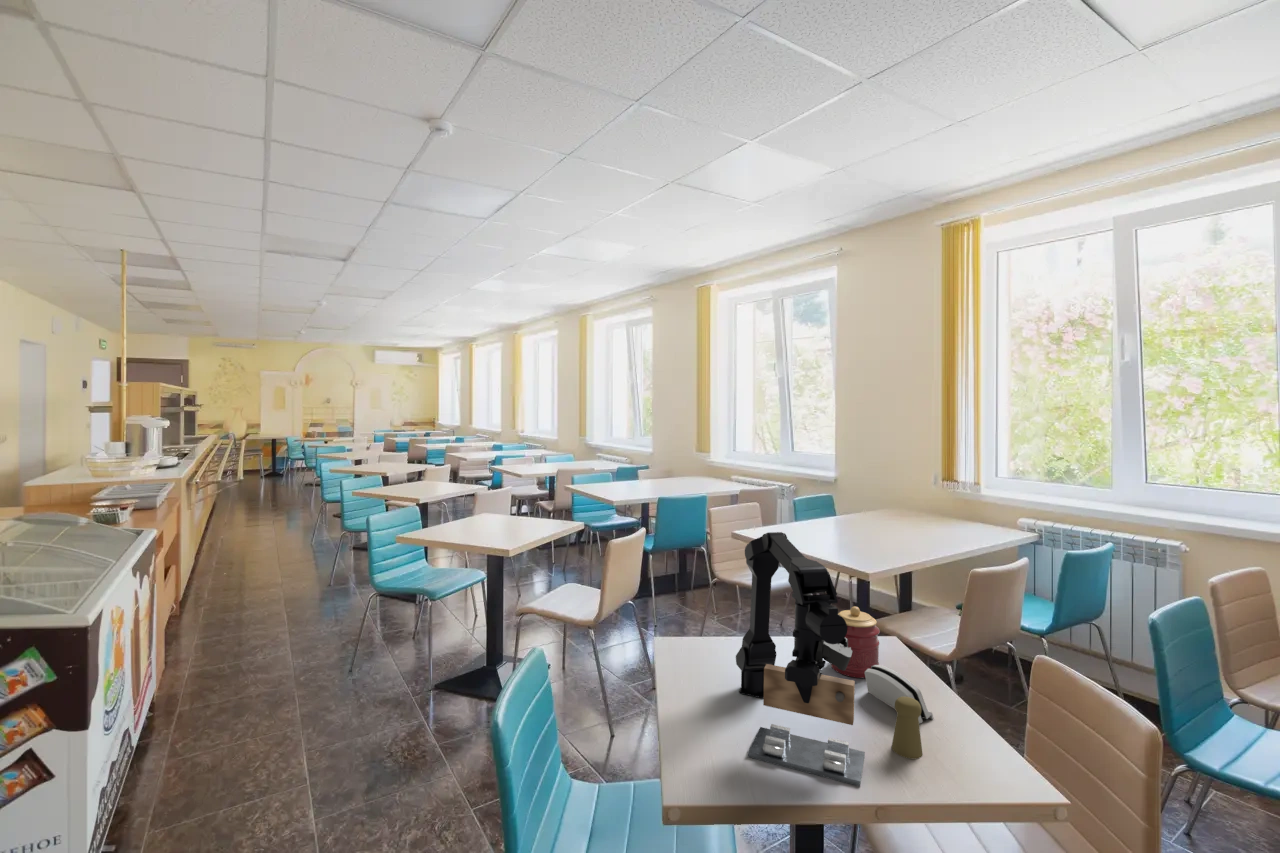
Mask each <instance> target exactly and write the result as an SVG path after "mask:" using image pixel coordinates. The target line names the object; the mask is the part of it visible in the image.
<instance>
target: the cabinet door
mask: <svg viewBox="0 0 1280 853" xmlns="http://www.w3.org/2000/svg"><path fill="white" fill-rule="evenodd" d="M786 667H787V666H786ZM786 667H784V666H780V665H770V664H766V666H765V667H764V698H762V699H763V700H762V702H763V703H762V704H763V706H765V707H769V708H773V709H779V710H782V711H786V712H792V713H796V714H800V715H804V716H805V715H806V716H809V717H810V716H811V717H815V718H818V719H823V720H828V721H832V722H836V723H841V724H846V725H849V726H853V725H854V721H855V690H856V689H855V687H856V684H855V683H856V682H855V680H852V679H847V678H842V677H836V676H832V675H826V674H821V677H820V679H819V682H818V684H817V685H816V686H813V687H812V692H811V697H810V701H809V703H804V702H803V700H802V697H801V695H800V693H799V690H798V688H797V686H796V684H795V682H791V681H787V680H786V679H785V669H786Z"/></svg>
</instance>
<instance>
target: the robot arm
mask: <svg viewBox="0 0 1280 853" xmlns="http://www.w3.org/2000/svg"><path fill="white" fill-rule="evenodd" d="M744 556H745V562H746V565H747V567H748V569H749V571H750V573H751V592H750V612H749V613H750V615H749V629H748V630H747V631H746V633H745V634H744V636H743V637H742V641H741V642H742V643H741V647H740V648H739V649H738V652H737V653H736V655H735V664H736V666H737V667H738V668H739V669H740V673H741V674H740V676H741V677H740V678H741V679H740V682H741V683H740V689H739V690H738V693H739V694H741V695H747V696H751V697H755V698H761V699H764V667H765V666H766V664H770V665H775V664H776V659H777V651H776V647H777V645H776V644H775V641H773V639H772V636H771V634H770V633H769V632H770V615H771V614H770V613H771V612H770V611H771V595H772V594H771V593H772V578H773V576H774V575H775V574H776V572H777V571H778V570H779V568H780V565H781V566H782V567H783V568H784V569H785V570H786V572H787V574H788V580H787V582H788V583H789V585H790V588H791V590H792V592H793V593H792V594H791V597H792V598H793V599H794V629H793V630H792V637H793V639H794V640H793V642H794V644H793V646H794V648H793V650H792V652H791V653H792V654H791V655H792V657H794V658H795V659H792V660H791V661H789V662H788V663H787V665H786V669H785V679H786V680H787V681H791V682H795V684H796V686H797V688H798V690H799V693H800V695H801V697H802V700H803V702H804V703H809V701H810V697H811V692H812V687H813V686H816V685H817V684H818V682H819V679H820V677H821V674H822V673H821V670H822V669H823V668H824V667H825V665H826V663H829V664H830V665H831V664H833V665H835V666H836V667H838V669H840V670H843V671H845V670H846V668H847V665H848V663H849V661H850V658H851V656H852V650H851V647H849V648H848V639H847V638H845V636H846V634H847V624H846V622H845V620H844V619H843V618H842V617H841V616H840V615H838V613H839V609H838V608H837V606H833V605H832V604H838V602H839V601H838V598H837V595H838V592H837V589H836V588H835V585H834V583H833V580H832V578H831V574H830V572H829V570H828V569H827V567H825V565H823V564H822V563H820V562H819V561H817V560H814V559H810V558H807V557H806V556H805V555H803V554H802V553H801V551H799V549H797V547H796V546H795V545H794V544H793V543H792V542H791V541H790V540H789V538H788V536H787V534H786V533H785V532H782V531H781V532H780V531H776V532H773V531H772V532H766V533H763V534H762V535H761V536H760V537H757V538H755V539H753V540H750V541H749V542H748V543H747V544H746V546H745V548H744ZM775 666H776V665H775ZM822 675H823V674H822Z"/></svg>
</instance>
